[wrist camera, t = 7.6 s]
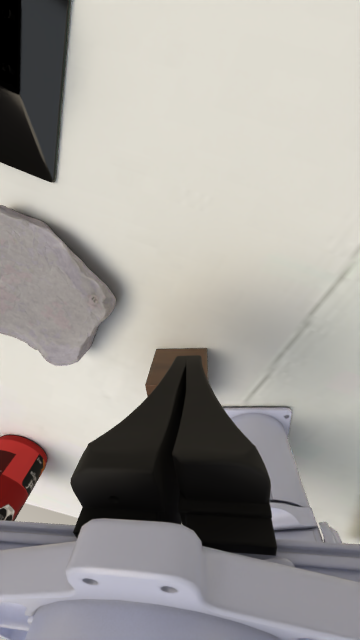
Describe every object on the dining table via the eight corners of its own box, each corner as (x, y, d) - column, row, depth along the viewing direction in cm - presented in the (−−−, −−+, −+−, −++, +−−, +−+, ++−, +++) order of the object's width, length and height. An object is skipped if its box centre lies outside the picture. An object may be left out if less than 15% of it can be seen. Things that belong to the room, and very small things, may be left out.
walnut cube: (208, 386, 25) (209, 427, 21) (162, 386, 26) (153, 426, 22) (207, 348, 23) (207, 385, 19) (156, 349, 24) (145, 385, 19)
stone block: (16, 192, 20) (-31, 288, 22) (-29, 181, 15) (-82, 303, 17) (138, 279, 23) (84, 355, 25) (131, 291, 18) (66, 382, 20)
